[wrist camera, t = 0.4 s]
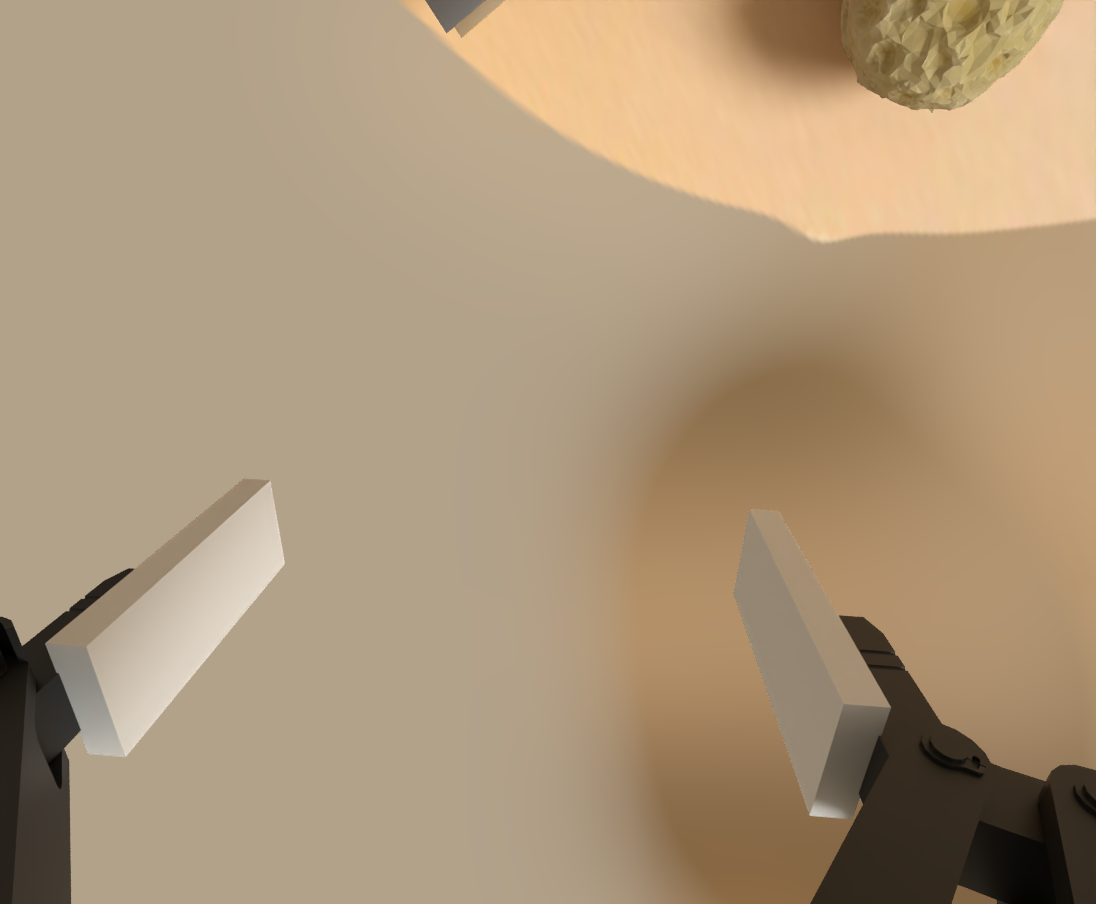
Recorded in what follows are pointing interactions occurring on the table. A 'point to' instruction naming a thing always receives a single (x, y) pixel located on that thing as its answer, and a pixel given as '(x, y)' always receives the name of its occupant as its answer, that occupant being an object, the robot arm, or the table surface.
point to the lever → (462, 13)
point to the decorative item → (939, 45)
